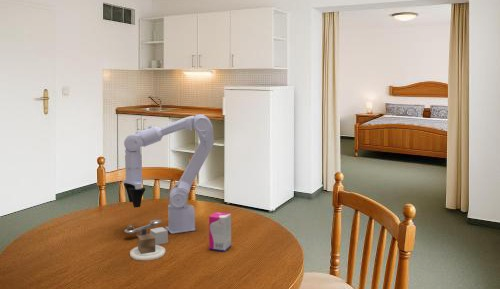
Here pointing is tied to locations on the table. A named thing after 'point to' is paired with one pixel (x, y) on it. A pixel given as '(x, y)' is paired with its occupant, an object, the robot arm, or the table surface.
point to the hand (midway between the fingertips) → (134, 204)
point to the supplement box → (220, 231)
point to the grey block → (160, 235)
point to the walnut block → (146, 243)
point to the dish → (147, 254)
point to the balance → (141, 228)
